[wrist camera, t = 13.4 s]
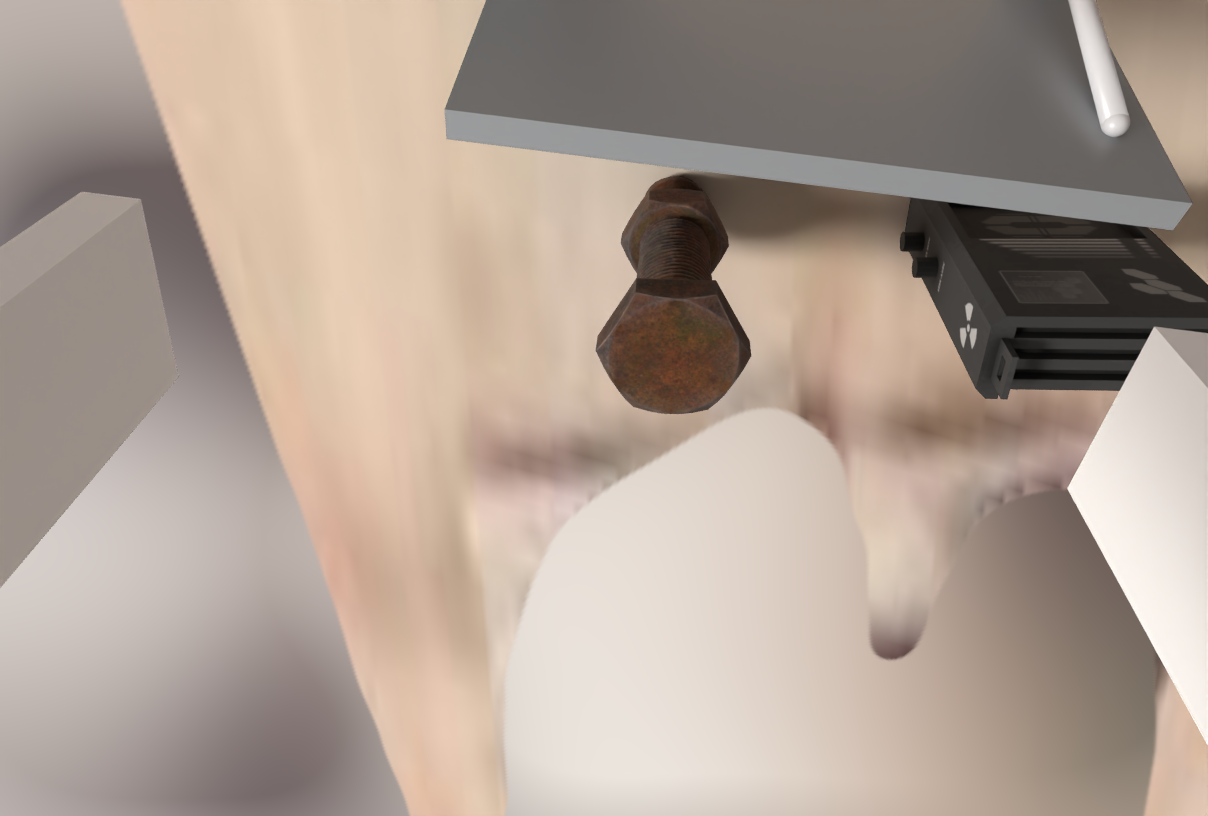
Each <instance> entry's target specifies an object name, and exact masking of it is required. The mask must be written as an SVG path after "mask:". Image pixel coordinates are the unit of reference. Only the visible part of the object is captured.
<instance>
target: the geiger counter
mask: <svg viewBox="0 0 1208 816" xmlns="http://www.w3.org/2000/svg"><path fill="white" fill-rule="evenodd" d="M900 249H901V251H909V252H910V254H911V256H912V259H913V263H912V274H913V277H914V278H922V279H923V281H924V283H925V285H926V287H927V289H928V291H929V293H930V296H931V298H932V300H933V302H934V304H935V306H936V308H937V310H938V312H939V314H940V316H941V318H942V320H943V322H944V324H945V326H946V328H947V331H948V333H949V335H950V337H951V339H952V341H953V343H954V345H955V347H956V349H957V351H958V353H959V355H960V357H961V359H962V361H963V363H964V366H965V368H966V370H967V372H968V374H969V376H970V378H971V380H972V382H973V384H974V386H975V388H976V389H977V390H978V392H979V393H980V394H981V395H982V396H983V397H984V398H985V399H997V398H998V395H999V396H1000V398H1001V399H1008V395H1009V391H1010V389H1035V390H1109V391H1120V390H1121V388H1122V386H1123V384H1124V382H1125V380H1126V378H1127V376H1128V375H1129V373H1130V371H1131V369H1132V367H1133V365H1134V363H1135V362H1136V360H1137V358H1138V356H1139V354H1140V352H1141V350H1142V348H1143V347H1144V345H1145V343H1146V341H1147V339H1148V337H1149V335H1150V334H1151V332H1152V330H1153V328H1154V327H1162V328H1170V329H1178V330H1186V331H1194V332H1202V333H1208V285H1207V284H1206V283H1205V282H1204V281H1203V280H1202V279H1201V278H1200V277H1199V276H1198V275H1197V274H1196V273H1195V272H1194V271H1193V270H1192V269H1191V268H1190V267H1189V266H1187V265H1186V264H1185V263H1184V262H1183V261H1182V260H1181V259H1180V258H1179V257H1178V256H1177V255H1176V254H1175V253H1174V252H1173V251H1172V250H1171V249H1170V248H1169V247H1168V246H1166V245H1165V244H1164V243H1163V242H1162V241H1161V240H1160V239H1159V238H1158V237H1157V236H1156V235H1155V234H1154V233H1153V232H1152V231H1151V230H1150V229H1149V228H1148V227H1142V226H1134V225H1126V224H1118V223H1111V222H1103V221H1095V220H1087V219H1079V218H1071V217H1063V216H1055V215H1047V214H1039V213H1031V212H1023V211H1015V210H1007V209H999V208H991V207H983V206H975V205H967V204H959V203H951V202H944V201H936V200H928V199H920V198H912V197H911V201H910V206H909V212H908V218H907V223H906V229H905V232H902V234H901V237H900Z"/></svg>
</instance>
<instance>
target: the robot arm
mask: <svg viewBox="0 0 1208 816" xmlns="http://www.w3.org/2000/svg"><path fill="white" fill-rule="evenodd" d="M178 377H179V376H178V372H177V367H176V362H175V358H174V353H173V348H172V343H171V339H170V334H169V329H168V325H167V320H166V315H165V311H164V306H163V301H162V297H161V292H160V287H159V282H158V278H157V273H156V268H155V264H154V259H153V254H152V250H151V245H150V241H149V235H148V231H147V226H146V221H145V216H144V212H143V207H142V203H141V199H135V198H127V197H119V196H110V195H103V194H96V193H88V192H81V193H79V194H78V195H76V196H75V197H73V198H72V199H70V200H69V201H67V202H66V203H64V204H63V205H61V206H60V207H59V208H57V209H56V210H54V211H53V212H51V213H50V214H48V215H47V216H45V217H44V218H42V219H41V220H39V221H38V222H37V223H35V224H34V225H32V226H31V227H29V228H28V229H26V230H25V231H23V232H22V233H20V234H19V235H18V236H16V237H15V238H13V239H12V240H10V241H9V242H7V243H6V244H4V245H3V246H1V247H0V588H1V586H2V585H3V584H4V583H5V582H6V581H7V579H8V578H9V577H10V576H11V574H12V573H13V572H14V571H15V570H16V569H17V568H18V566H19V565H20V564H21V563H22V562H23V560H24V559H25V558H26V557H27V555H29V553H30V552H31V551H32V550H33V549H34V547H35V546H36V545H37V544H38V543H39V542H40V540H41V539H42V538H43V537H44V536H45V534H46V533H47V532H48V531H49V530H50V529H51V527H52V526H53V525H54V524H55V523H56V521H57V520H58V519H59V518H60V517H61V515H62V514H63V513H64V512H65V511H66V510H67V508H68V507H69V506H70V505H71V504H72V503H73V501H74V500H75V499H76V498H77V497H78V495H79V494H80V493H81V492H82V491H83V490H84V488H85V487H86V486H87V485H88V484H89V482H90V481H91V480H92V479H93V478H94V477H95V475H96V474H97V473H98V472H99V471H100V469H101V468H102V467H103V466H104V465H105V463H106V462H107V461H108V460H109V459H110V458H111V456H112V455H113V454H114V453H115V452H116V451H117V449H118V448H119V447H120V446H121V445H122V443H123V442H124V441H125V440H126V439H127V438H128V436H129V435H130V434H131V433H132V432H133V430H134V429H135V428H136V427H137V426H138V424H139V423H140V422H141V421H142V420H143V419H144V417H145V416H146V415H147V414H148V413H149V412H150V410H151V409H152V408H153V407H154V406H155V404H156V403H157V402H158V401H159V400H160V399H161V397H162V396H163V395H164V394H165V393H166V391H167V390H168V389H169V388H170V387H171V385H172V384H173V383H174V382H175V381H176V380H177V378H178ZM1067 489H1068V491H1069V492H1070V494H1071V496H1072V498H1073V500H1074V502H1075V503H1076V505H1077V507H1078V509H1079V511H1080V513H1081V514H1082V516H1083V518H1084V520H1085V522H1086V523H1087V525H1088V527H1089V529H1090V531H1091V533H1092V534H1093V536H1094V538H1095V540H1096V542H1097V544H1098V545H1099V547H1100V549H1101V551H1102V553H1103V554H1104V556H1105V558H1106V560H1107V562H1108V564H1109V566H1110V567H1111V569H1112V571H1113V573H1114V575H1115V576H1116V578H1117V580H1118V582H1119V584H1120V586H1121V588H1122V589H1123V591H1124V593H1125V595H1126V597H1127V599H1128V600H1129V602H1130V604H1131V606H1132V607H1133V610H1134V611H1135V613H1136V615H1137V617H1138V619H1139V620H1140V622H1141V624H1142V626H1143V628H1144V630H1145V631H1146V633H1147V635H1148V637H1149V639H1150V641H1151V643H1152V644H1153V646H1154V648H1155V650H1156V652H1157V654H1158V655H1159V657H1160V659H1161V661H1162V663H1163V665H1164V666H1165V668H1166V670H1167V672H1168V674H1169V675H1170V677H1171V679H1172V681H1173V683H1174V685H1175V686H1176V688H1177V690H1178V692H1179V694H1180V696H1181V697H1182V699H1183V701H1184V703H1185V705H1186V707H1187V708H1188V710H1189V712H1190V714H1191V716H1192V718H1193V719H1194V721H1195V723H1196V725H1197V727H1198V729H1199V730H1200V732H1201V734H1202V736H1203V738H1204V740H1205V741H1206V743H1207V745H1208V333H1202V332H1194V331H1186V330H1178V329H1170V328H1162V327H1154V328H1153V330H1152V332H1151V334H1150V335H1149V337H1148V339H1147V341H1146V343H1145V345H1144V347H1143V348H1142V350H1141V352H1140V354H1139V356H1138V358H1137V360H1136V362H1135V363H1134V365H1133V367H1132V369H1131V371H1130V373H1129V375H1128V376H1127V378H1126V380H1125V382H1124V384H1123V386H1122V388H1121V390H1120V391H1119V393H1118V395H1117V397H1116V399H1115V401H1114V403H1113V404H1112V406H1111V408H1110V410H1109V412H1108V414H1107V416H1106V418H1105V419H1104V421H1103V423H1102V425H1101V427H1100V429H1099V431H1098V432H1097V434H1096V436H1095V438H1094V440H1093V442H1092V444H1091V445H1090V447H1089V449H1088V451H1087V453H1086V455H1085V457H1084V459H1083V460H1082V462H1081V464H1080V466H1079V468H1078V470H1077V472H1076V473H1075V475H1074V477H1073V479H1072V481H1071V483H1070V485H1069V487H1068V488H1067Z"/></svg>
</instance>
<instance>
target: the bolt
mask: <svg viewBox="0 0 1208 816" xmlns="http://www.w3.org/2000/svg"><path fill="white" fill-rule="evenodd" d="M621 245H622V247H623V249H624V251H625V253H626V255H627V257H628V259H629V261H630V263H631V264H632V266H633V268H634V270H635V271H636V273H637V278H636V280H635V281H634V283H633V284H632V286H631V287H630V289H629V290H628V292H627V293H626V295H625V296H624V298H623V299H622V301H621V302H620V304H619V305H618V307H617V308H616V310H615V311H614V313H613V314H612V316H611V317H610V318H609V320H608V321H607V323H606V324H605V326H604V327H603V329H602V330H601V332H600V333H599V335H598V338H597V345H596V352H597V354H598V356H599V358H600V361H601V363H602V365H603V367H604V369H605V370H606V372H607V374H608V376H609V378H610V379H611V381H612V382H613V383H614V385H615V386H616V388H617V389H618V390H619V392H620V393H621V394H622V396H623V397H624V398H625V399H626V400H627V401H628V402H629V403H630V404H631V405H632V406H633V407H636V408H640V409H643V410H647V411H651V412H657V413H664V414H684V413H693V412H698V411H703V410H708V409H709V408H710V407H712V406H713V405H714V404H716V403H717V402H718V401H719V400H720V399H721V398H722V397H723V396H724V395H725V394H726V392H727V391H728V390H729V389H730V387H731V386H732V385H733V383H734V382H735V381H736V379H737V378H738V377H739V375H740V374H741V372H742V371H743V369H744V367H745V366H746V364H747V362H748V361H749V359H750V357H751V349H750V341H749V339H748V337H747V335H746V334H745V332H744V330H743V328H742V326H741V325H740V323H739V321H738V319H737V317H736V316H735V314H734V312H733V310H732V308H731V307H730V305H729V303H728V301H727V299H726V298H725V296H724V294H723V292H722V290H721V289H720V287H719V285H718V283H717V282H716V280H712V276H711V273H712V272H713V271H714V269H715V268H716V266H717V265H718V263H719V262H720V260H721V259H722V257H723V255H724V254H725V252H726V250H727V248H728V247H729V244H728V236H727V234H726V231H725V229H724V227H723V225H722V223H721V221H720V219H719V217H718V215H717V213H716V211H715V209H714V207H713V206H712V204H711V202H710V200H709V199H708V197H707V196H706V194H705V193H704V192H703V190H702V189H701V188H700V187H699V186H698V185H697V184H696V183H694V182H693V181H691V180H689V179H687V178H684V177H677V176H675V177H668V178H664V179H661V180H659V181H657V182H655V183H654V184H653V185H652V186H651V187H650V188H649V190H648V191H647V193H646V195H645V197H644V198H643V200H642V201H641V203H640V204H639V206H638V207H637V209H636V210H635V212H634V214H633V215H632V217H631V218H630V220H629V222H628V224H627V226H626V227H625V229H624V231H623V233H622V238H621Z"/></svg>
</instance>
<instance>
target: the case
mask: <svg viewBox="0 0 1208 816" xmlns="http://www.w3.org/2000/svg"><path fill="white" fill-rule="evenodd" d="M445 121H446V136H447V139H450V140H458V141H466V142H474V143H482V144H490V145H498V146H506V147H514V148H522V149H530V150H538V151H546V152H554V153H562V154H570V155H578V156H586V157H594V158H602V159H610V160H617V161H625V162H633V163H641V164H649V165H657V166H665V167H673V168H681V169H689V170H697V171H705V172H713V173H721V174H729V175H737V176H745V177H753V178H761V179H769V180H777V181H784V182H792V183H800V184H808V185H816V186H824V187H832V188H840V189H848V190H856V191H864V192H872V193H880V194H888V195H896V196H904V197H912V198H920V199H928V200H936V201H944V202H951V203H959V204H967V205H975V206H983V207H991V208H999V209H1007V210H1015V211H1023V212H1031V213H1039V214H1047V215H1055V216H1063V217H1071V218H1079V219H1087V220H1095V221H1103V222H1111V223H1118V224H1126V225H1134V226H1142V227H1150V228H1158V229H1166V230H1174V228H1175V227H1176V226H1177V224H1178V223H1179V221H1180V220H1181V219H1182V217H1183V216H1184V215H1185V213H1186V212H1187V211H1188V209H1189V208H1190V206H1191V205H1192V204H1193V203H1192V201H1191V199H1190V197H1189V195H1188V194H1187V192H1186V190H1185V188H1184V186H1183V184H1182V182H1181V180H1180V179H1179V177H1178V175H1177V173H1176V171H1175V169H1174V167H1173V165H1172V163H1171V162H1170V160H1169V158H1168V156H1167V154H1166V152H1165V150H1164V148H1163V147H1162V145H1161V143H1160V141H1159V139H1158V137H1157V135H1156V133H1155V131H1154V130H1153V128H1152V126H1151V124H1150V122H1149V120H1148V118H1147V116H1146V114H1145V113H1144V111H1143V109H1142V107H1141V105H1140V103H1139V101H1138V99H1137V98H1136V96H1135V94H1134V92H1133V90H1132V88H1131V86H1130V84H1129V82H1128V81H1127V79H1126V77H1125V75H1124V73H1123V71H1122V69H1121V67H1120V66H1119V64H1118V62H1117V60H1116V58H1115V56H1114V54H1113V52H1112V50H1111V49H1110V47H1109V43H1108V40H1107V36H1106V33H1105V29H1104V26H1103V22H1102V19H1101V15H1100V12H1099V8H1098V4H1097V1H1096V0H486V2H485V5H484V8H483V10H482V13H481V16H480V18H479V21H478V23H477V26H476V29H475V31H474V34H473V37H472V39H471V42H470V44H469V47H468V50H467V52H466V55H465V58H464V60H463V63H462V65H461V68H460V71H459V73H458V76H457V78H456V81H455V84H454V86H453V89H452V92H451V94H450V97H449V99H448V102H447V105H446V107H445Z"/></svg>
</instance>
